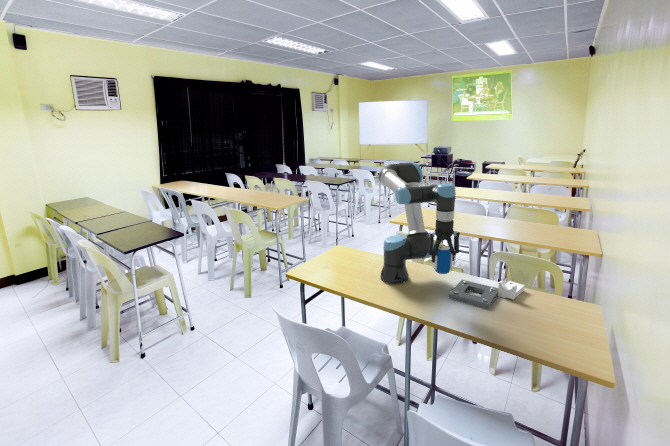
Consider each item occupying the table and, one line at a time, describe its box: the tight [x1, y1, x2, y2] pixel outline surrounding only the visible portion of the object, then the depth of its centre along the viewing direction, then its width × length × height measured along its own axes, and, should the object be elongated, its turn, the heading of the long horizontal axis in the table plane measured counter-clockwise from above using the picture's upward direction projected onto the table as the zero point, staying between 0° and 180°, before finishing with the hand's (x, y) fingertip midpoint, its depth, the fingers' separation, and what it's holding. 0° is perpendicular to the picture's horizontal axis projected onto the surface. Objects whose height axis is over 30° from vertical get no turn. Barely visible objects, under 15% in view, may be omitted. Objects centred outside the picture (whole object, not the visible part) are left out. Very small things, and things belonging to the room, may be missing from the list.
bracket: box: [497, 280, 526, 300], centre depth 164 cm, size 13×7×8 cm, turn 132°
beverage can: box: [434, 244, 451, 275], centre depth 155 cm, size 6×6×12 cm
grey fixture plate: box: [448, 279, 499, 310], centre depth 164 cm, size 18×18×3 cm
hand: (442, 268), depth 156 cm, fingers closed on beverage can, 6 cm apart
